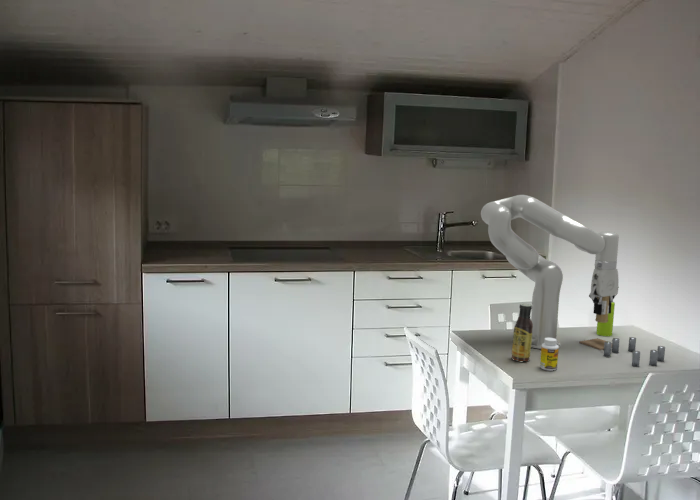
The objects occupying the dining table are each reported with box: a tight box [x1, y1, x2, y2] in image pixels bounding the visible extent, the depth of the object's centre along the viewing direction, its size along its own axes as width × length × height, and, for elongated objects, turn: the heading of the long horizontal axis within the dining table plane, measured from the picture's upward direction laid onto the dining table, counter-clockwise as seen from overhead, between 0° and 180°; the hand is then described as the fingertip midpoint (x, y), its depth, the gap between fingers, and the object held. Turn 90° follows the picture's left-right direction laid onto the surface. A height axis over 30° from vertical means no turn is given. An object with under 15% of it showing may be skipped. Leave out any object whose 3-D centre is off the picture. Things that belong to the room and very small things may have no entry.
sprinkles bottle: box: [594, 296, 609, 323], centre depth 260 cm, size 5×5×13 cm
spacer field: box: [603, 336, 666, 368], centre depth 247 cm, size 15×18×5 cm
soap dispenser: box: [595, 286, 620, 337], centre depth 276 cm, size 6×7×20 cm
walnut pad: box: [579, 337, 612, 351], centre depth 263 cm, size 10×10×1 cm
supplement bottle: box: [539, 338, 560, 372], centre depth 233 cm, size 6×6×10 cm
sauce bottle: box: [511, 302, 533, 362], centre depth 241 cm, size 7×6×20 cm
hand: (602, 312), depth 261 cm, fingers closed on sprinkles bottle, 4 cm apart
